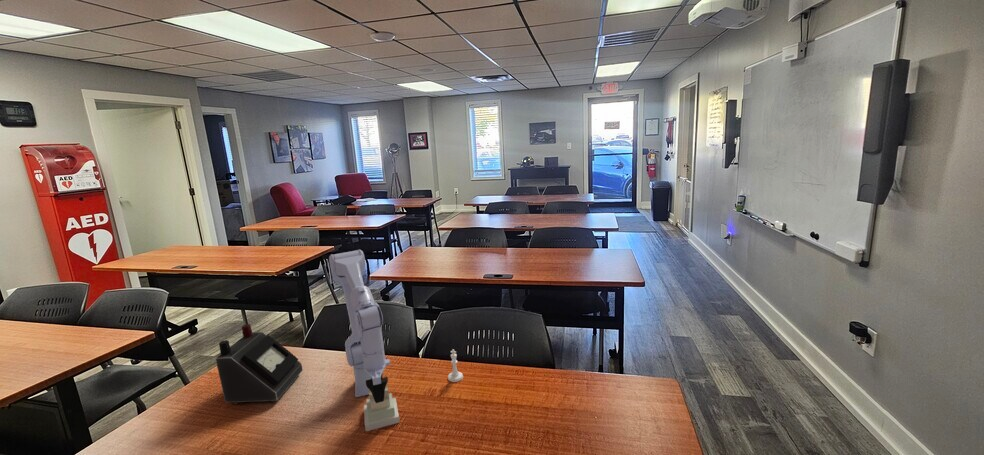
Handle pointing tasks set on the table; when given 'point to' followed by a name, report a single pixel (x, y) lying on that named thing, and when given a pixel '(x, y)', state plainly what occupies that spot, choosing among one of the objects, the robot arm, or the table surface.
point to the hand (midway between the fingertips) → (378, 393)
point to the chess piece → (454, 369)
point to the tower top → (380, 411)
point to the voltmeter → (255, 368)
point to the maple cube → (381, 404)
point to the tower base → (381, 422)
